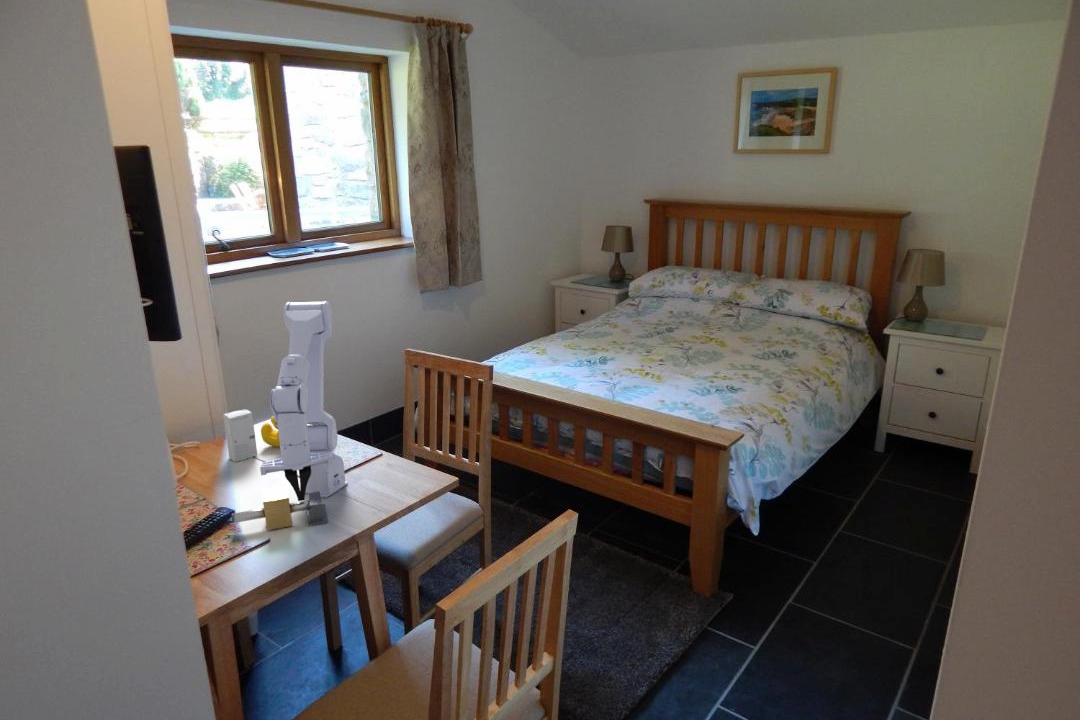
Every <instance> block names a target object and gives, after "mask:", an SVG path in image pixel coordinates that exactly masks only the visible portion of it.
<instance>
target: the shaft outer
mask: <svg viewBox="0 0 1080 720" xmlns="http://www.w3.org/2000/svg"><path fill="white" fill-rule="evenodd" d="M264 518H265V512H264V507H263V508H258V509H257V508H256V509H252V510H246V511H241V512H240V511H239V512H234V513H233V512H232V513H231V523H232V524H237V523H242V522H248V521H253V520H254V521H255V520H259V519H264Z"/></svg>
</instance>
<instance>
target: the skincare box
mask: <svg viewBox="0 0 1080 720" xmlns="http://www.w3.org/2000/svg"><path fill="white" fill-rule="evenodd" d="M222 415H223V416H222V417H223V422H224V430H225V436H226V437H225V438H226V444H227V451H228V452H227V453H228V458H230V459H231V460H232V461H233V463H237V462H240V461H243V460H248V459H251V458H254V457H253V456H255V457H257V456H258V449H257V442H256V432H255V425H254V417H253V412H251V411H250V410H249V409H246V408H244V409H241V410H240V409H239V410H234V411H231V412H226V413H223V414H222ZM256 455H257V456H256ZM247 458H248V459H247Z"/></svg>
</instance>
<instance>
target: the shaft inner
mask: <svg viewBox="0 0 1080 720" xmlns="http://www.w3.org/2000/svg"><path fill="white" fill-rule="evenodd" d="M321 501H322V502H323V499H322V498H321ZM322 507H323V506H322ZM307 510H310V501H309V499H307V500H302V501H297V502H290V512H291V514H293V513H298V512H304V511H307Z"/></svg>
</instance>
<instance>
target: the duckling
mask: <svg viewBox="0 0 1080 720" xmlns="http://www.w3.org/2000/svg"><path fill="white" fill-rule="evenodd" d="M270 422H271V424H272V425H273V426H272V425H271V424H270V423H268V422H267V423H264V424H263V425H262V426H261V427H260V433H261V434H260V435H261V437H262V440H263V442H264V443H265V444H266V445H269V446H270V447H275V448H280V440H279V432H278V425H277V423H276V422H275V421H274V415H272V416H271V417H270ZM273 427H274V428H275V429H276V430H275V429H274V428H273Z"/></svg>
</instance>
